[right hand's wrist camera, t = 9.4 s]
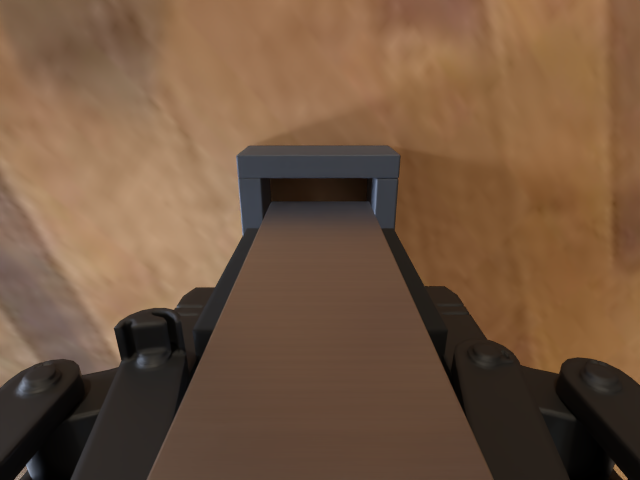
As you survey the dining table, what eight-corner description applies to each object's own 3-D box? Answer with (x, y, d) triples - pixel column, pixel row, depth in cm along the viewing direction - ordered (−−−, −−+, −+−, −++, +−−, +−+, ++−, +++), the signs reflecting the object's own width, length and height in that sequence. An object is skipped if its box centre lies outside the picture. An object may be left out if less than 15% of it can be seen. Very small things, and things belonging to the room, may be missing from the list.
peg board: (366, 485, 28) (394, 714, 18) (271, 485, 28) (243, 715, 18) (388, 145, 19) (471, 210, 9) (248, 145, 19) (163, 210, 9)
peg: (275, 288, 17) (185, 675, 6) (270, 200, 15) (139, 490, 4) (364, 288, 17) (454, 676, 6) (369, 200, 15) (501, 490, 4)
